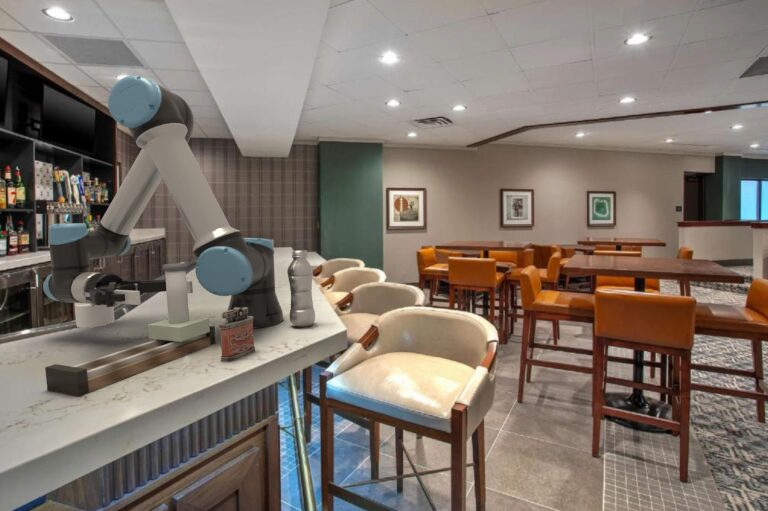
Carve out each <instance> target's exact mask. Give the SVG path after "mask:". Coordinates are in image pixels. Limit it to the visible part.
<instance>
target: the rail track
mask: <svg viewBox="0 0 768 511" xmlns="http://www.w3.org/2000/svg"><path fill="white" fill-rule="evenodd" d="M209 328H210V332H208V333H205V334H202V335H199V336H196V337H193V338H190V339H188V340H185V341H182V342H177V341H168V340H158V339H153V340H151V341H148V342H144V343H141V344H139V345H136V346H132V347H128V348H125V349H122V350H120V351H116V352H113V353H110V354H107V355H104V356H100V357H98V358H97V357H96V358H95V359H91V360H88V361H85V362H82V363H79V364H76V365H72V366H71V365H70V366H69V365H64V364H59V363H55V364H51V365H48V366H45V367H44V370H45V378H46V380H45V381H46V390H47V391H50V392H56V393H60V394H64V395H70V396H75V397H81V396H84V395H86V394H89V393H91V392H93V391H96V390H99V389H101V388H104V387H107V386H109V385H112V384H114V383H117V382H119V381H122V380H125V379H127V378H130V377H133V376H136V375H138V374H140V373H143V372H145V371H149V370H150V369H153V368H156V367H159V366H161V365H164V364H166V363H169V362H172V361H174V360H177V359H179V358H181V357H185V356H186V355H190V354H191V353H194V352H197V351H199V350H201V349H202V350H203V349H205V348H208V347H210V346H212V345H215V344H216V329H215V328H216V327H215V325H214V326H213V325H209Z"/></svg>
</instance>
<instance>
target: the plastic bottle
mask: <svg viewBox="0 0 768 511" xmlns="http://www.w3.org/2000/svg"><path fill="white" fill-rule="evenodd" d="M291 254H292V256H291V258H292V261H291V262H290V264H289V265H288V268H287V271H286V272H287V273H286V274H287V278H288V283H289V291H290V310H289V321H290V324H291V325H292V326H294V327H302V328H305V327H308V326H312V325H313V324H314V323H315V320H316V311H315V307H314V303H313V302H314V301H313V293H312V291H313V290H312V289H313V288H312V287H313V286H312V285H313V276H314V275H313V273H314V269H313V267H312V265H311V264H310V262H309V261H308V260H307V258H308V250H306V249H298V250H297V249H295V250H292V252H291Z"/></svg>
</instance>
